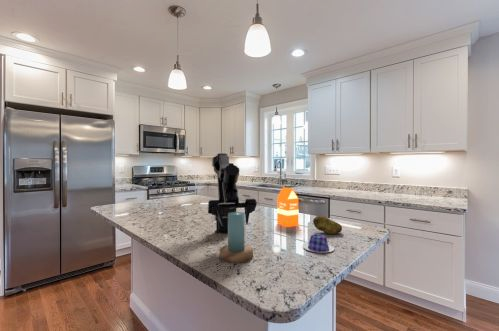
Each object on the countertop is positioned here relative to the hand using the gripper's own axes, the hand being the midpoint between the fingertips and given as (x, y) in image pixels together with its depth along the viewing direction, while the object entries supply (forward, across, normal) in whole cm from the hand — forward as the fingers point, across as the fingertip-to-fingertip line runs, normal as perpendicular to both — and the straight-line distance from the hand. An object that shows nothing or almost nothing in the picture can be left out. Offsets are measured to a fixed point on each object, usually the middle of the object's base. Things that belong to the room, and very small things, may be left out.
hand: (235, 224), depth 93 cm
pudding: (+9, -33, -6) cm, 35 cm away
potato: (-4, -48, -19) cm, 52 cm away
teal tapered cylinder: (+8, 0, -4) cm, 9 cm away
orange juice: (-18, -36, -33) cm, 52 cm away
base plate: (+9, 0, -6) cm, 11 cm away
